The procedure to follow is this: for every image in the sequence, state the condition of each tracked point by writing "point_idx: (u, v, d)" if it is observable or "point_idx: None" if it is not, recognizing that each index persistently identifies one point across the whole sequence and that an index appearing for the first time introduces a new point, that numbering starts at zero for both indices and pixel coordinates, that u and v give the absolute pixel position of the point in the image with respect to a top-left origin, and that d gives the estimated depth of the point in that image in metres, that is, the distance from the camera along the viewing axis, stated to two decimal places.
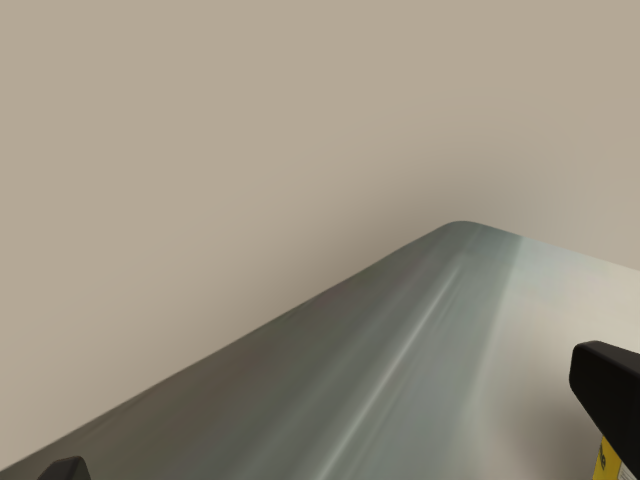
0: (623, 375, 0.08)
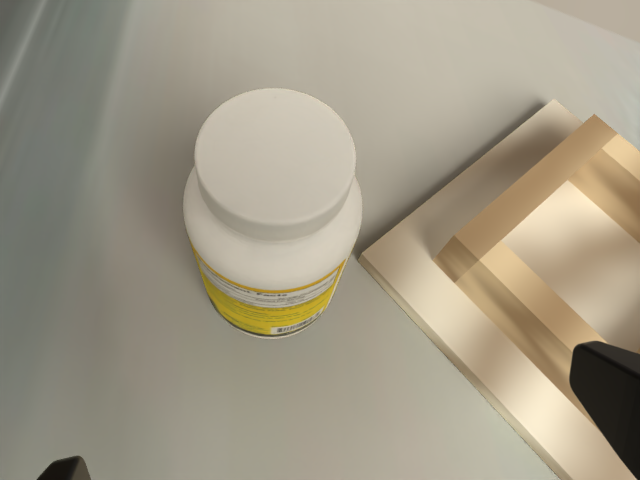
0: (623, 375, 0.08)
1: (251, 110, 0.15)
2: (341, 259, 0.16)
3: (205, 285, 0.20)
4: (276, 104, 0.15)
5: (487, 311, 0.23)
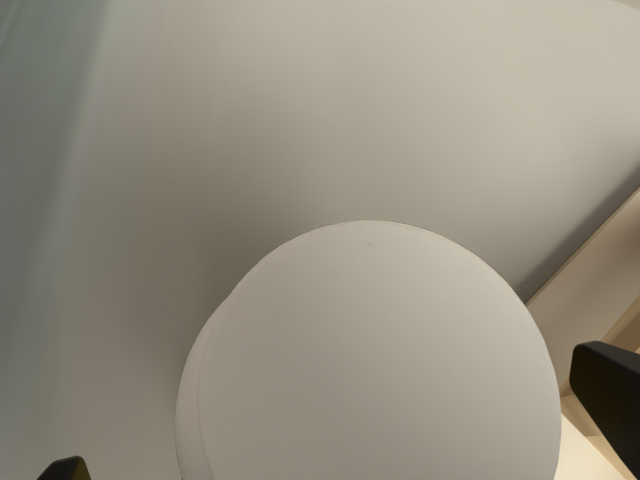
0: (623, 375, 0.08)
1: (322, 279, 0.07)
2: None
3: None
4: (374, 261, 0.07)
5: None
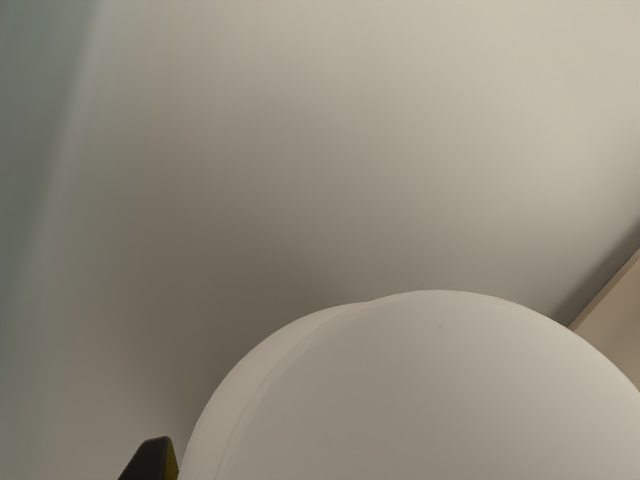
0: None
1: (376, 380, 0.05)
2: None
3: None
4: (448, 351, 0.05)
5: None
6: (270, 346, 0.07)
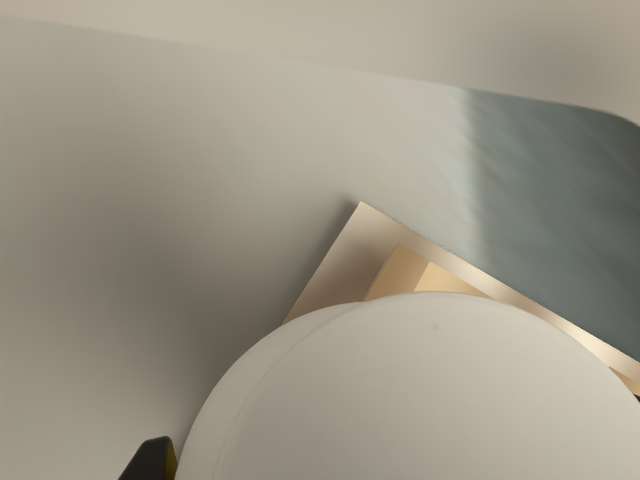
0: None
1: (371, 380, 0.05)
2: None
3: None
4: (442, 352, 0.05)
5: None
6: (267, 346, 0.07)
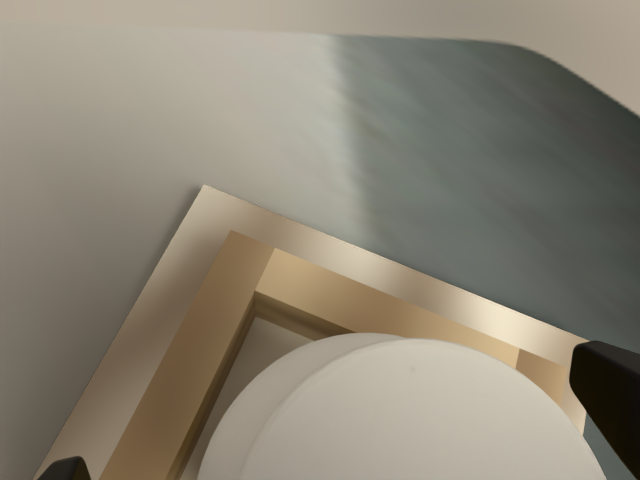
0: (623, 375, 0.08)
1: (361, 413, 0.06)
2: None
3: None
4: (418, 389, 0.06)
5: None
6: (273, 374, 0.09)
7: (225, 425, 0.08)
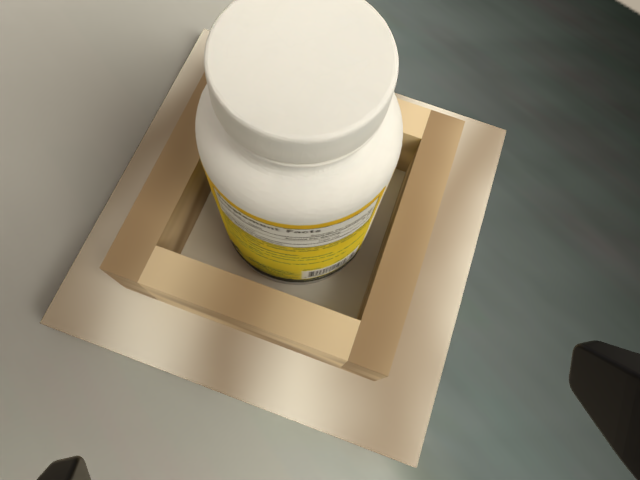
0: (623, 375, 0.08)
1: (268, 7, 0.12)
2: (381, 186, 0.14)
3: (227, 228, 0.19)
4: None
5: (200, 314, 0.20)
6: None
7: None
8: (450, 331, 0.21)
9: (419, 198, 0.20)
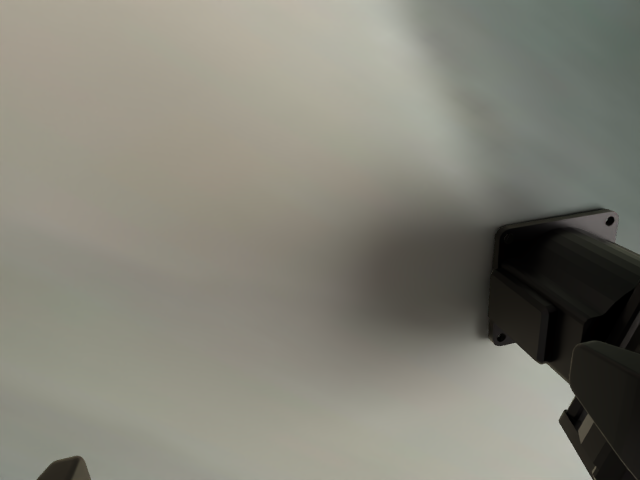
0: (623, 375, 0.08)
1: None
2: None
3: None
4: None
5: None
6: None
7: None
8: None
9: None
